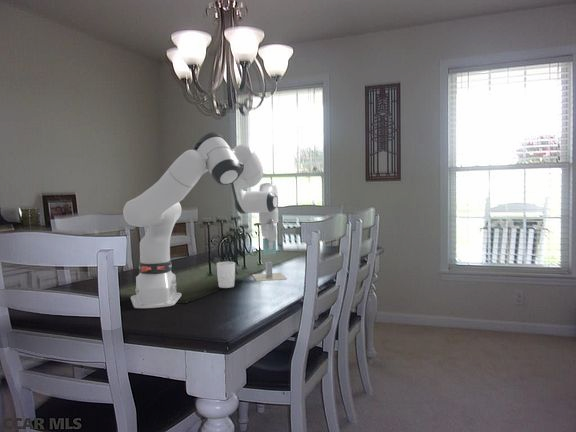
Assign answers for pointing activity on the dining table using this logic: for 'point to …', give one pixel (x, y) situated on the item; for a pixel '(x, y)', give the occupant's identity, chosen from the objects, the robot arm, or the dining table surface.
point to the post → (269, 274)
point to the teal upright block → (265, 247)
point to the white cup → (226, 274)
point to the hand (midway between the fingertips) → (269, 248)
